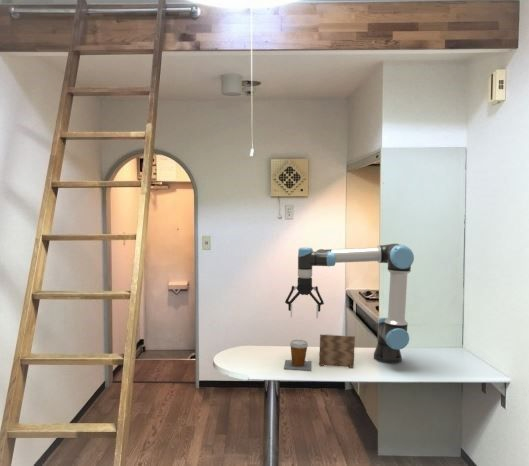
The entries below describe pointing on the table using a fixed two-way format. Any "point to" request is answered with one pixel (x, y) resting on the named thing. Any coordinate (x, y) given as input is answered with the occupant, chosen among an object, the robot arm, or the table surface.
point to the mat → (289, 366)
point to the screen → (337, 350)
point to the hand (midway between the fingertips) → (304, 317)
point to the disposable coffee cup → (298, 352)
